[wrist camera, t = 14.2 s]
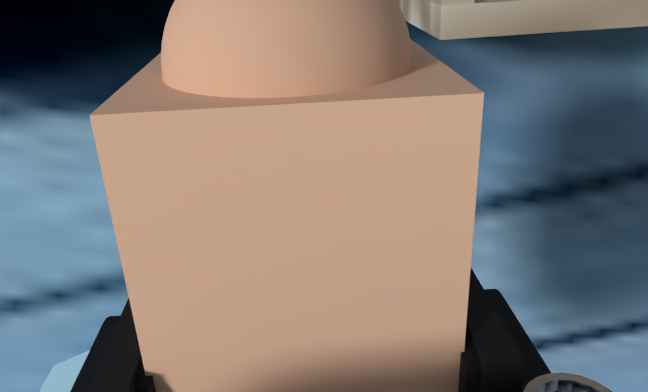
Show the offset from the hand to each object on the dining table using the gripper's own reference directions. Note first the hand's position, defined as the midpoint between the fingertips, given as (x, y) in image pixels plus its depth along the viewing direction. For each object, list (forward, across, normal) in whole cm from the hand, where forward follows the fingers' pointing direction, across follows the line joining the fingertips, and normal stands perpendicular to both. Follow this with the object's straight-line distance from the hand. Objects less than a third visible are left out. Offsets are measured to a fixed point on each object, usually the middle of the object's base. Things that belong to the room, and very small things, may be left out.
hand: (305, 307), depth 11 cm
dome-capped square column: (0, 0, 0) cm, 0 cm away
